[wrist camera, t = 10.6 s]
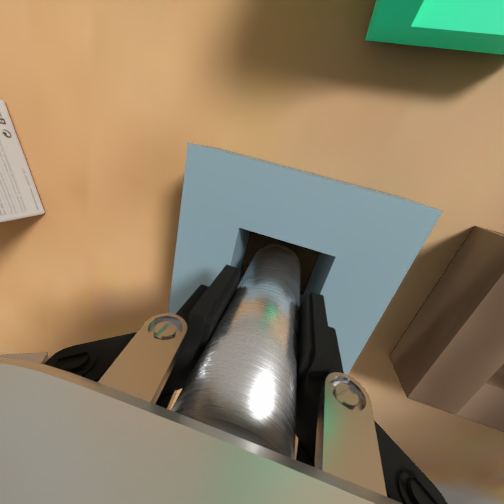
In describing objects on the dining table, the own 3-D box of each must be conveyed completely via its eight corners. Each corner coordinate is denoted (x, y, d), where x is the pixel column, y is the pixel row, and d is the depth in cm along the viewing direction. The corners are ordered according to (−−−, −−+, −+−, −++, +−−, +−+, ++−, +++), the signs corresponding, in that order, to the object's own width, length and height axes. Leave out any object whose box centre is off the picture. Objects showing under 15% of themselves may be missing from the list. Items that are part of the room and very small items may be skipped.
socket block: (402, 197, 14) (442, 211, 10) (330, 342, 19) (337, 391, 15) (219, 148, 15) (188, 143, 11) (194, 295, 20) (166, 329, 16)
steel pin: (307, 252, 14) (315, 455, 4) (291, 294, 16) (270, 527, 6) (258, 237, 15) (162, 395, 5) (247, 280, 16) (151, 475, 6)
